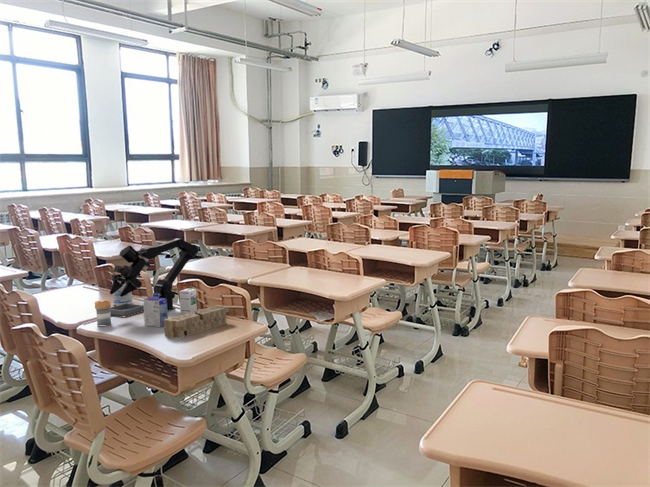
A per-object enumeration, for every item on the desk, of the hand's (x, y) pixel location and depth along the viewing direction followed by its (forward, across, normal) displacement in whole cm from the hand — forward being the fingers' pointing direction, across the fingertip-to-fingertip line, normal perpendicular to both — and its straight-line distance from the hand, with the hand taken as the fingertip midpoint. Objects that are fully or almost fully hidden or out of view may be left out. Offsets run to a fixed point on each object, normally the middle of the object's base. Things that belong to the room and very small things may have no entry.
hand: (115, 295), depth 232 cm
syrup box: (-6, +27, +24) cm, 37 cm away
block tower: (0, +43, +19) cm, 47 cm away
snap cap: (+8, 0, -1) cm, 8 cm away
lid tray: (+1, -12, +17) cm, 21 cm away
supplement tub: (-6, -31, +24) cm, 40 cm away
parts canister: (+14, 0, +4) cm, 14 cm away
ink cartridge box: (+4, +21, +14) cm, 26 cm away
